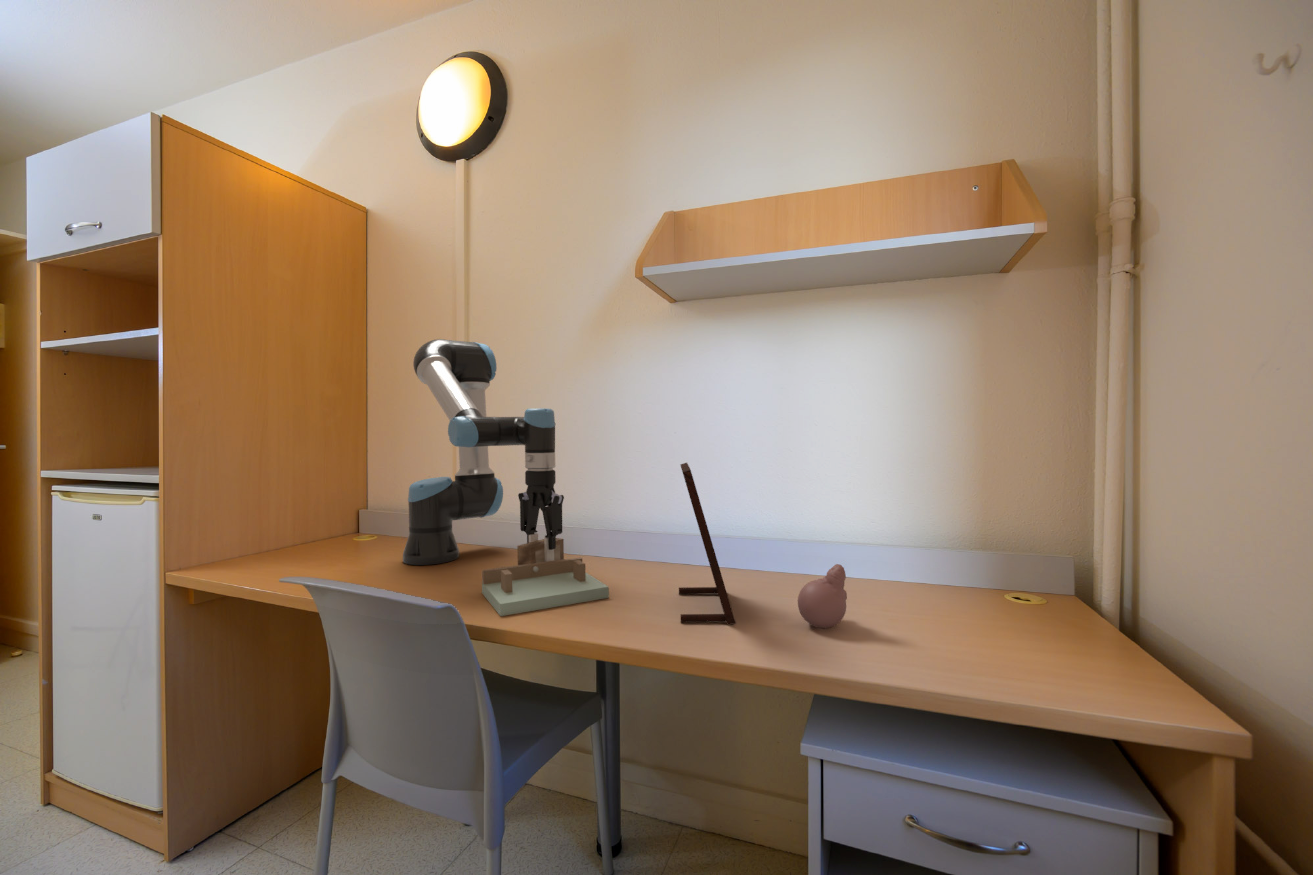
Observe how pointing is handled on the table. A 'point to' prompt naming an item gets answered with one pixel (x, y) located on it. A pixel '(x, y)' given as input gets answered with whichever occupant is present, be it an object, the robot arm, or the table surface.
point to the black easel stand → (713, 563)
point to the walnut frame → (538, 552)
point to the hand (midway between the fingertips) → (541, 560)
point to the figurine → (824, 599)
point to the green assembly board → (540, 586)
